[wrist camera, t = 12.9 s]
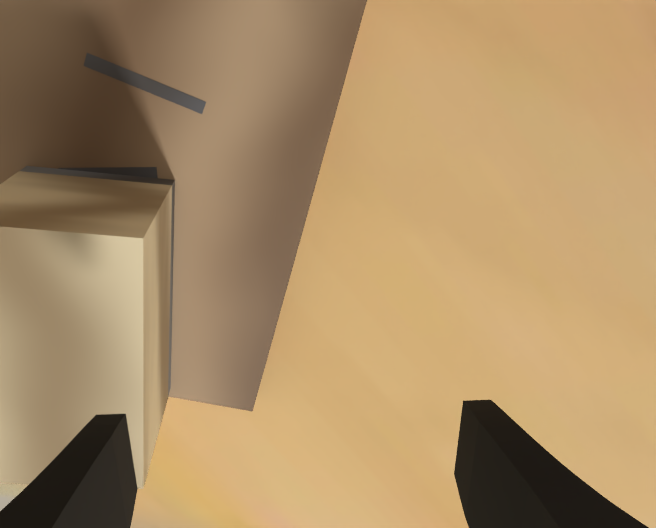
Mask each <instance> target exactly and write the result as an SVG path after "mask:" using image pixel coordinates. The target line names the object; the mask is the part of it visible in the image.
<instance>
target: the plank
mask: <svg viewBox="0 0 656 528" xmlns="http://www.w3.org/2000/svg"><path fill="white" fill-rule="evenodd" d="M366 2H367V0H0V184H1V183H3V182H4V181H6V180H7V179H8V178H10V177H11V176H13V175H14V174H16V173H17V172H19V171H20V170H21V169H23V168H24V167H26V166H34V167H45V168H55V169H66V170H76V171H87V172H98V173H108V174H119V175H129V176H140V177H150V178H161V179H171V180H175V206H174V253H173V301H172V349H171V389H170V392H169V396H168V397H174V398H180V399H185V400H191V401H197V402H202V403H208V404H214V405H219V406H225V407H231V408H236V409H242V410H248V411H253V407H254V404H255V400H256V397H257V393H258V389H259V386H260V382H261V379H262V375H263V371H264V368H265V364H266V361H267V357H268V353H269V350H270V346H271V343H272V339H273V336H274V332H275V328H276V325H277V321H278V318H279V314H280V310H281V307H282V303H283V300H284V296H285V292H286V289H287V285H288V282H289V278H290V275H291V271H292V267H293V264H294V260H295V257H296V253H297V249H298V246H299V242H300V239H301V235H302V231H303V228H304V224H305V221H306V217H307V214H308V210H309V206H310V203H311V199H312V196H313V192H314V188H315V185H316V181H317V178H318V174H319V170H320V167H321V163H322V160H323V156H324V153H325V149H326V145H327V142H328V138H329V135H330V131H331V127H332V124H333V120H334V117H335V113H336V109H337V106H338V102H339V99H340V95H341V92H342V88H343V84H344V81H345V77H346V74H347V70H348V66H349V63H350V59H351V56H352V52H353V48H354V45H355V41H356V38H357V34H358V31H359V27H360V23H361V20H362V16H363V13H364V9H365V5H366Z"/></svg>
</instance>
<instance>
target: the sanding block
mask: <svg viewBox="0 0 656 528" xmlns="http://www.w3.org/2000/svg"><path fill="white" fill-rule="evenodd" d="M174 206H175V180H171V179H161V178H150V177H140V176H129V175H119V174H108V173H98V172H87V171H76V170H66V169H55V168H45V167H34V166H26V167H24V168H23V169H21V170H20V171H19V172H17V173H16V174H14V175H13V176H11V177H10V178H8V179H7V180H6V181H4V182H3V183H1V184H0V483H1V484H30V483H31V482H32V481H33V480H34V479H35V478H36V477H37V476H38V475H39V474H40V473H41V472H42V471H43V470H44V469H45V468H46V467H47V466H48V465H49V464H50V463H51V462H52V461H53V459H54V458H55V457H56V456H57V455H58V454H59V453H60V452H61V451H62V450H63V449H64V448H65V447H66V446H67V445H68V444H69V443H70V441H71V440H72V439H73V438H74V437H75V436H76V435H77V434H78V433H79V432H80V431H81V430H82V429H83V428H84V426H85V425H86V424H87V423H88V422H89V421H90V420H91V419H92V418H93V417H94V416H95V415H101V414H126V418H127V424H128V431H129V437H130V444H131V450H132V457H133V463H134V470H135V476H136V483H137V488H140V489H143V488H144V485H145V481H146V477H147V474H148V470H149V466H150V462H151V459H152V455H153V451H154V448H155V444H156V440H157V437H158V433H159V429H160V426H161V422H162V418H163V414H164V411H165V407H166V403H167V400H168V396H169V392H170V389H171V349H172V301H173V253H174Z"/></svg>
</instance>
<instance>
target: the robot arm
mask: <svg viewBox="0 0 656 528" xmlns="http://www.w3.org/2000/svg"><path fill="white" fill-rule="evenodd" d="M454 475H455V479H456V483H457V487H458V491H459V495H460V499H461V503H462V507H463V510H464V514H465V518H466V520H467V523H468V526H469V528H648V527H647V526H645V525H644V524H642V523H641V522H639V521H638V520H636V519H635V518H633V517H632V516H630V515H629V514H627V513H626V512H624V511H623V510H621V509H620V508H619V507H617V506H616V505H614V504H613V503H611V502H610V501H609V500H607V499H606V498H605V497H603V496H602V495H600V494H599V493H598V492H597V491H595V490H594V489H593V488H591V487H590V486H589V485H588V484H586V483H585V482H584V481H582V480H581V479H580V478H579V477H577V476H576V475H575V474H574V473H572V472H571V471H570V470H569V469H568V468H566V467H565V466H564V465H563V464H561V463H560V462H559V461H558V460H557V459H556V458H554V457H553V456H552V455H551V454H550V453H549V452H548V451H546V450H545V449H544V448H543V447H542V446H541V445H540V444H538V443H537V442H536V441H535V440H534V439H533V438H532V437H531V436H530V435H529V434H527V433H526V432H525V431H524V430H523V429H522V428H521V427H520V426H519V425H518V424H517V423H516V422H514V421H513V420H512V419H511V418H510V417H509V416H508V415H507V414H506V413H505V412H504V411H503V410H502V409H500V408H499V407H498V406H497V405H496V404H495V403H494V402H493V401H492V400H473V401H463V407H462V415H461V423H460V431H459V439H458V447H457V455H456V463H455V471H454ZM136 493H137V483H136V476H135V470H134V463H133V457H132V450H131V444H130V437H129V431H128V424H127V418H126V414H101V415H95V416H94V417H93V418H92V419H91V420H90V421H89V422H88V423H87V424H86V425H85V426H84V428H83V429H82V430H81V431H80V432H79V433H78V434H77V435H76V436H75V437H74V438H73V439H72V440H71V441H70V443H69V444H68V445H67V446H66V447H65V448H64V449H63V450H62V451H61V452H60V453H59V454H58V455H57V456H56V457H55V458H54V459H53V461H52V462H51V463H50V464H49V465H48V466H47V467H46V468H45V469H44V470H43V471H42V472H41V473H40V474H39V475H38V476H37V477H36V478H35V479H34V480H33V481H32V482H31V483H30V484H29V485H28V486H27V487H26V488H25V489H24V490H23V491H22V492H21V493H20V494H19V495H18V496H16V497H15V498H14V499H13V500H12V501H11V502H10V503H9V504H8V505H7V506H6V507H5V508H4V509H2V510H1V511H0V528H130V526H131V521H132V516H133V510H134V505H135V499H136Z"/></svg>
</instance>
